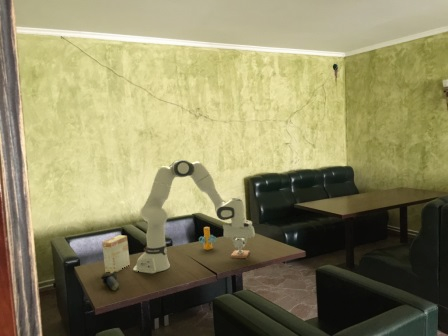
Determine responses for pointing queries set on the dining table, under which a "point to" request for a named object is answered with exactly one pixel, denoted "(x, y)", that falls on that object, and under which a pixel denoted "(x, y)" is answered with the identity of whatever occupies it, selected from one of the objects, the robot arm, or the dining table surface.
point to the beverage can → (111, 280)
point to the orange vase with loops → (207, 239)
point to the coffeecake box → (116, 253)
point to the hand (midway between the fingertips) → (239, 243)
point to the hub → (239, 242)
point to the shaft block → (240, 253)
